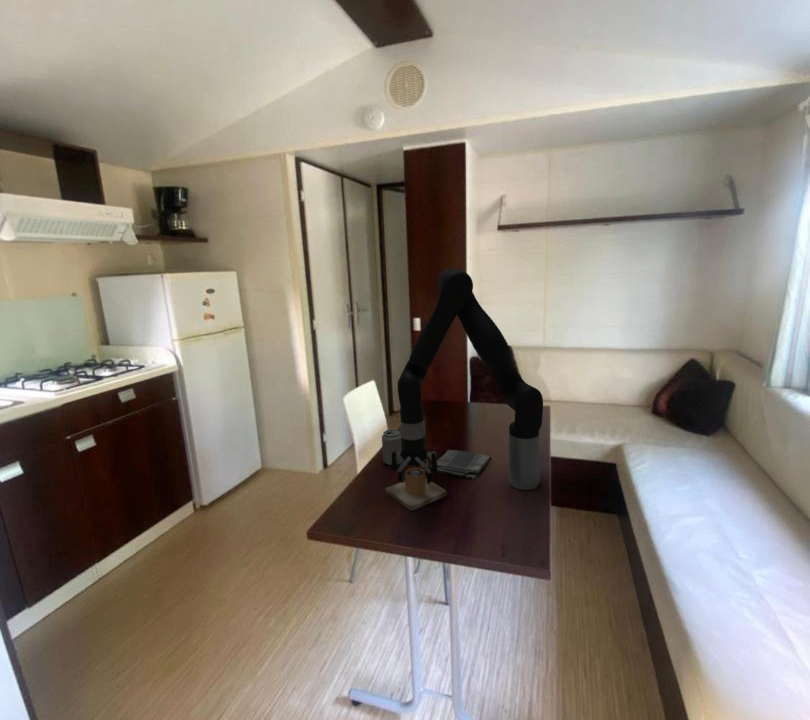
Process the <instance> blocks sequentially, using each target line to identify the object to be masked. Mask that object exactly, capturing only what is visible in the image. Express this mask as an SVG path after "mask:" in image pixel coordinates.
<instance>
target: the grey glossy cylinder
mask: <svg viewBox="0 0 810 720" xmlns="http://www.w3.org/2000/svg"><path fill="white" fill-rule="evenodd" d="M419 475H420V471H418V470H412V471H410V476H419Z"/></svg>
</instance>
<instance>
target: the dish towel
mask: <svg viewBox="0 0 810 720" xmlns="http://www.w3.org/2000/svg"><path fill="white" fill-rule="evenodd" d="M492 459H493V458H492V456H490V455H487V454H482V453H477V452H470V451H464V450H463V451H462V450H457V449H447V450H446V452H445V453H444V454H442V456H441V457H440V458H437V465H438V467H437V471H436V472H435V473H437V474H441V475H445V476H448V475H447V474H450V475H449V476H451V475H454V476H455V477H454V478H458V476H460V477H465V478H464V479H467V478H466V477H469V478H471V479H472V480H473V481H474V480H475V479H476V478H477V477H478V476H479V474H480V473H481V472H482V471H483V469H484V468H485V467H486V466H488V464H489V463H490V460H491V461H492ZM488 462H489V463H488ZM487 463H488V464H487ZM481 470H482V471H481ZM477 475H478V476H477ZM456 476H457V477H456ZM471 479H470V480H471ZM472 480H471V481H472Z"/></svg>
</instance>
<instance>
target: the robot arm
mask: <svg viewBox="0 0 810 720" xmlns="http://www.w3.org/2000/svg"><path fill="white" fill-rule="evenodd" d="M437 290H438V293H439V297H438V299H437V303H436V306H435V308H434V311H433V312H432V314H431V316H430V318H429V320H428V321H427V322H426V324H425V326H424V327H423V328H422V330H421V332H420V333H419V335H418V337H417V339H416V341H415V343H414V345H413V348H412V350H411V352H410V355H409V359H408V361H407V363H406V365H405V366H404V369H403V370H402V372H401V374H400V376H399V378H398V380H397V394H398V395H397V396H398V402H399V404H400V406H399V407H400V410H399V412H400V414H399V415H400V430H399V431H400V435H401V448H402V451H397V450H393V452H392V466H391V470H392V471H397V477H398V478H397V479H398V481H399V483H403V481H405V473H404V468H405V467H406V466H410V467H413V466H416V467H421V469H423V470H424V471H425V472H426V479H427V484H430V482H433V472H434V473H437V472H436V471H437V467H438V465H437V460H438V455H437V451H436V450H432V451H427V448H426V428H425V420H424V419H425V418H424V406H423V404H422V386H423V385H422V384H423V382H424V380H425V377H426V375H427V373H428V371H429V368H430V367H431V366H432V364H433V362H435V361H434V360H435V358H436V356H437V354H438V352H439V350H440V348H441V345H442V344H443V341H444V339H445V337H446V336H447V333H448V331H449V329H450V327H451V325H452V324H453V322H454V321H455V319H456V317H457V318H458V319H459V321H460V323H461V326H462V328H463V330H464V332H465V334H466V336H467V338H468V340H469V342H470V343H471V345H472V347H473V349H474V351H475V352H476V353H477V356H478V357H479V359H480V360H481V361H482V363H483V364H484V366H485V367H486V368H487V370H488V371H489V373H490V374H491V376H492V377H493V379H494V380H495V382H496V384H497V386H498V388H499V389H500V392H501V394H502V398H503V399H504V401H505V402H506V404H507V405H508V407H509V408H510V409H512V410H513V411H514V421H512V422H511V423H510V424H509V427H508V483H509V485H510V486H511V487H513V488H515V489H518V490H522V491H529V490H530V491H531V490H534V489H536V488H538V486H539V484H540V483H541V463H542V462H541V461H542V459H541V458H542V456H541V454H540V430H541V428H542V424H543V417H544V416H543V413H544V399H543V395H542V393H541V391H540V390H539V389H537V388H536V387H534V386H532V385H530V384H529V383H527V382H525V380H524V379H523V378H522V376H521V375H520V374H519V372H518V371H517V369H516V368H515V365H514V362H513V358H512V357H513V356H512V353H511V348H510V346H509V344H508V341H507V340H506V337H504V335H503V333H502V331H501V330H500V328H499V327H498V326H497V324H496V322H494V320H493V319H492V318H491V317H490V316H489V314H488V313H487V312H486V310H485V309H484V308H483V307H482V306H481V305H480V303H479V301H478V300H477V297H476V295H475V293H474V291H473V290H474V282H473V279H472V277H471V276H470V275H469V274H468V273H467V272H465V271H463V270H462V269H460V268H453V267H452V268H448V269H445V270H443V271H442V272H441V273H440V274H439V276H438V279H437ZM399 455H400V456H401V457H402V458H403V461H402V462H401V463H400V464H399V465H397V458H398V457H399ZM427 457H428V458H429V459H430V460H431V465H430V463H429V461H428V460H427Z"/></svg>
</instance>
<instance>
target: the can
mask: <svg viewBox="0 0 810 720" xmlns="http://www.w3.org/2000/svg"><path fill="white" fill-rule="evenodd" d="M400 431H401V430H398V429H395V428H392V429H391V428H390V429H387V430H384V431H383V432H382V435H381V443H382V444H381V445H382V457H383V458H382V460H383V463H384V464H386V465H387V464H388V465H387V466H390V465H392V452H393V450H397V451H402V448H401V435H400ZM402 461H403V458H402V457H401V456H400V455H399V457H398V458H397V465H398V464H399V465H400V464H401V463H402Z"/></svg>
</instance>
